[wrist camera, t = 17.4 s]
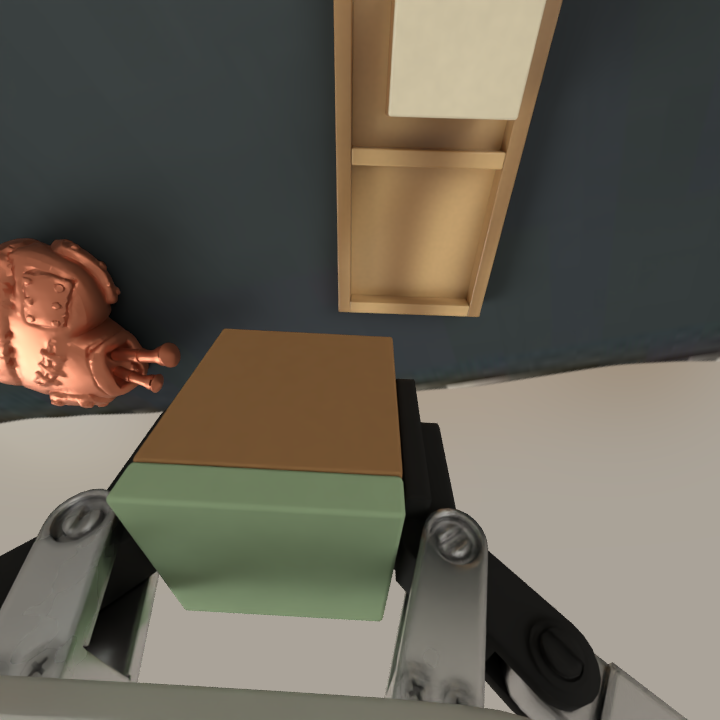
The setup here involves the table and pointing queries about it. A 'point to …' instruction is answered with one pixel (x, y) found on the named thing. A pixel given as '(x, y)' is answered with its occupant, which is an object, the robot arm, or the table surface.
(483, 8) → the pad cream
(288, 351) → the pad sage
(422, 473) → the robot arm
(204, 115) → the table surface
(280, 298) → the table surface
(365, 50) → the wooden divided tray
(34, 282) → the heart
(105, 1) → the table surface
